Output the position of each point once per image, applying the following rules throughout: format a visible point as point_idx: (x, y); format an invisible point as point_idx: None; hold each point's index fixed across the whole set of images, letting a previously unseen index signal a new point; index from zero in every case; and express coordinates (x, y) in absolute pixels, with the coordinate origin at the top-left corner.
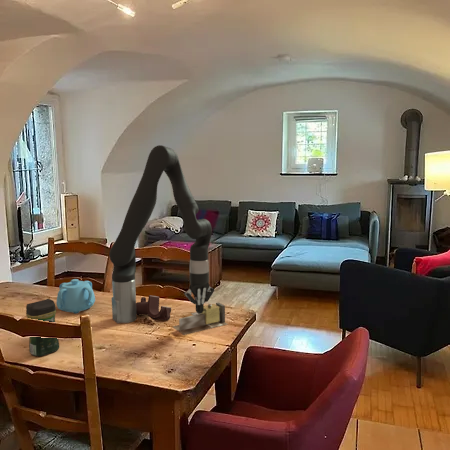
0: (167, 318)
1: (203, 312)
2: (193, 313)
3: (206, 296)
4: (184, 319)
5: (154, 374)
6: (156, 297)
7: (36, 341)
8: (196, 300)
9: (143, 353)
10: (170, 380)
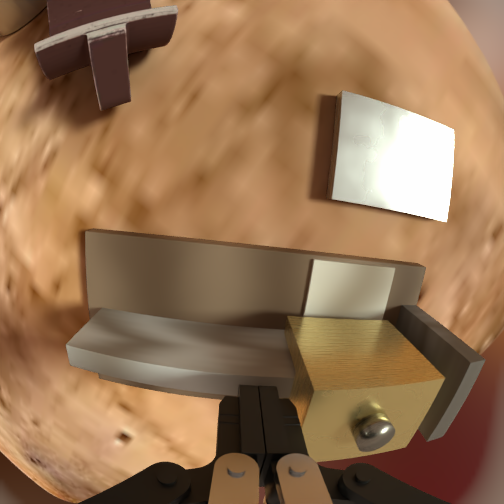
0: (104, 109)
1: (293, 401)
2: (358, 106)
3: (394, 498)
4: (102, 370)
5: (6, 443)
6: None
7: None
8: (232, 494)
9: None
10: (35, 474)
